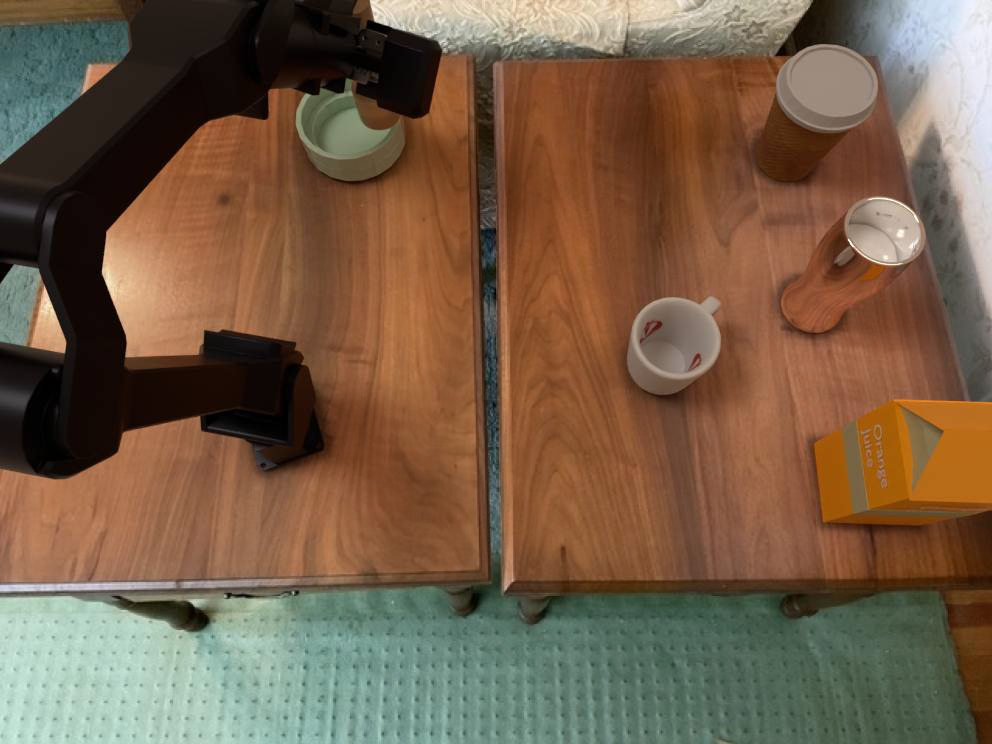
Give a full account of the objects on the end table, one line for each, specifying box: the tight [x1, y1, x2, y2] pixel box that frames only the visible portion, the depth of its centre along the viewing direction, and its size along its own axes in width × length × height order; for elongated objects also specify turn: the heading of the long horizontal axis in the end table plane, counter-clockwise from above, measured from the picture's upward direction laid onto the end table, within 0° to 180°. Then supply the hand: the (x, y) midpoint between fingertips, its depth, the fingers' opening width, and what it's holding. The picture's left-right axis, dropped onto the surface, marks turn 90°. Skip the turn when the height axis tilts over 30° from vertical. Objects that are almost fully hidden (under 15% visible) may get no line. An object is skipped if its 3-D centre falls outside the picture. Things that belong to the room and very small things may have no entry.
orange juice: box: [813, 398, 992, 527], centre depth 56 cm, size 8×9×20 cm
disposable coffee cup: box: [755, 43, 879, 183], centre depth 72 cm, size 10×10×12 cm
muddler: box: [351, 0, 401, 130], centre depth 66 cm, size 4×4×14 cm
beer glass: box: [780, 195, 927, 334], centre depth 64 cm, size 7×7×15 cm
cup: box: [626, 295, 722, 396], centre depth 66 cm, size 11×8×8 cm
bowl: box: [295, 78, 406, 182], centre depth 77 cm, size 11×11×4 cm
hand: (373, 51), depth 66 cm, fingers closed on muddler, 3 cm apart
